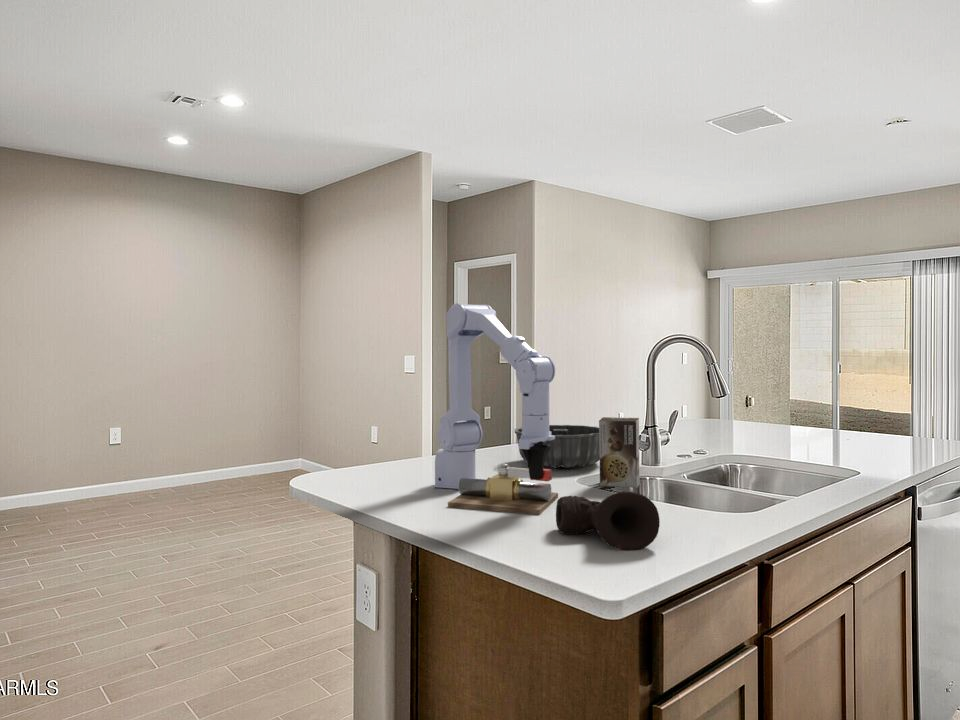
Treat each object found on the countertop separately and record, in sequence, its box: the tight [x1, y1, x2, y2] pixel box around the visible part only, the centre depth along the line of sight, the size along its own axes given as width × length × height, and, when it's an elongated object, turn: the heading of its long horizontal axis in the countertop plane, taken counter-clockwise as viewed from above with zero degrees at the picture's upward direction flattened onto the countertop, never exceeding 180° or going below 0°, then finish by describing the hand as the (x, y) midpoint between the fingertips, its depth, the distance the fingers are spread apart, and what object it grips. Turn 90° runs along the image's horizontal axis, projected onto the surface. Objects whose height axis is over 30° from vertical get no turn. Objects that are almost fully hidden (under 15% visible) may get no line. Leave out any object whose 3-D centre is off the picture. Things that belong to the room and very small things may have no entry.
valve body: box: [458, 474, 552, 501], centre depth 148 cm, size 20×5×5 cm, turn 70°
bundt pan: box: [514, 424, 600, 469], centre depth 193 cm, size 26×26×10 cm
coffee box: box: [598, 416, 641, 489], centre depth 165 cm, size 9×6×16 cm
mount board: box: [447, 491, 559, 516], centre depth 148 cm, size 20×16×1 cm
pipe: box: [555, 491, 661, 552], centre depth 121 cm, size 10×15×15 cm
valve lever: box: [497, 463, 552, 482], centre depth 145 cm, size 12×3×3 cm, turn 63°
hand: (536, 478), depth 143 cm, fingers closed, pressing on valve lever
